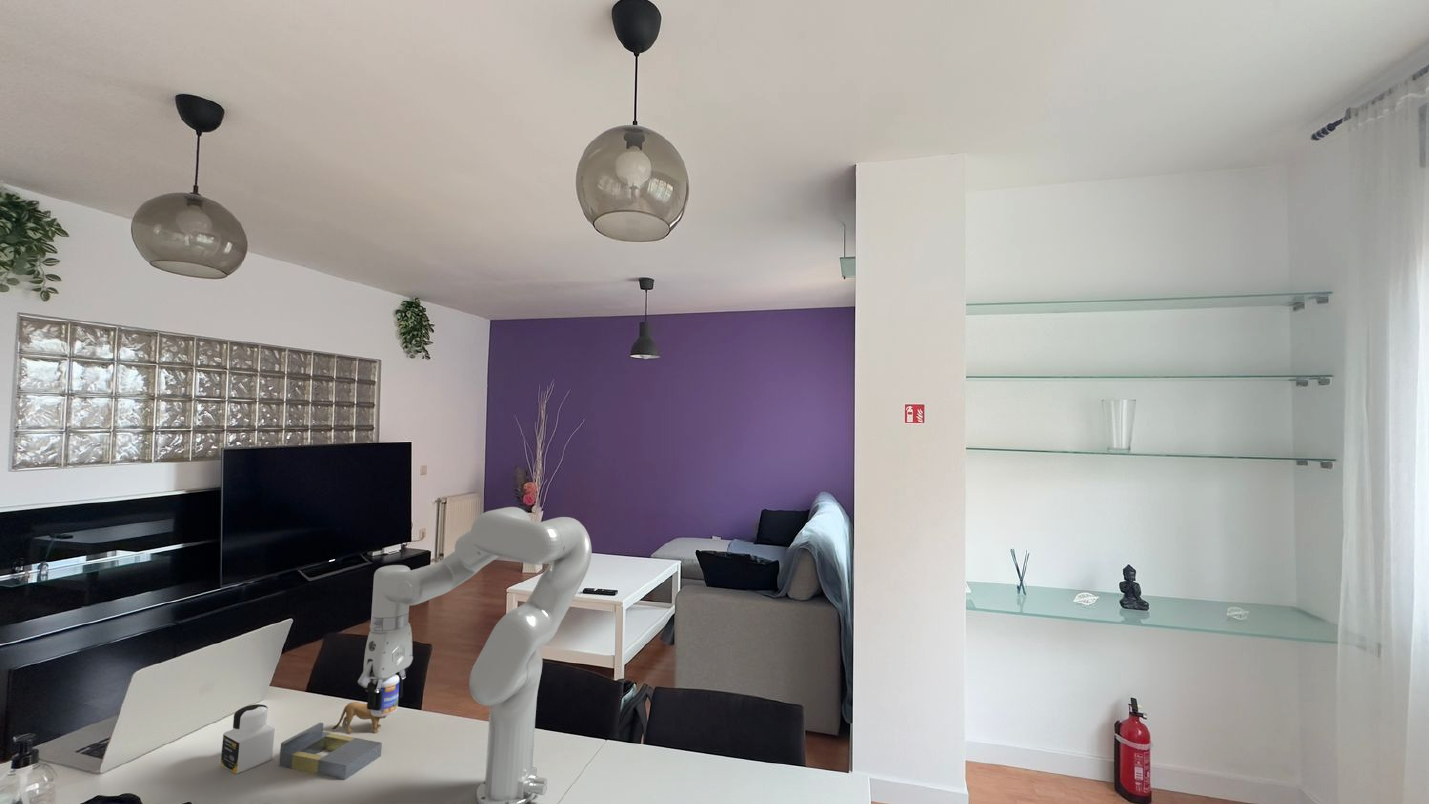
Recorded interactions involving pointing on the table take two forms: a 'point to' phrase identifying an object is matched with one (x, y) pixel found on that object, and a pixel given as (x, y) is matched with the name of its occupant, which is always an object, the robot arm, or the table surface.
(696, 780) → the table surface
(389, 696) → the pill bottle
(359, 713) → the lion figurine
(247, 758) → the medicine bottle
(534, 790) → the robot arm
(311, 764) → the grey and tan frame
